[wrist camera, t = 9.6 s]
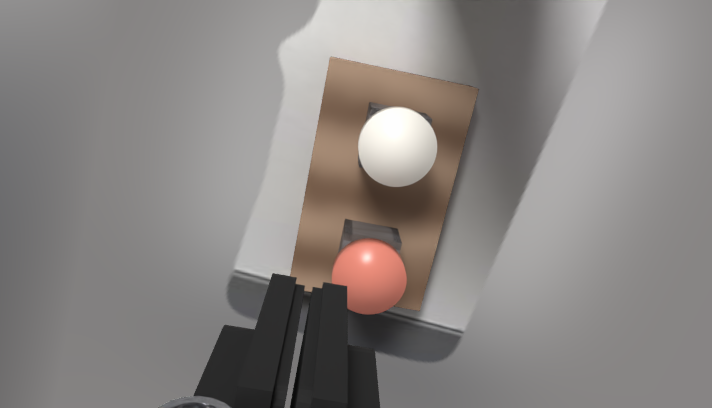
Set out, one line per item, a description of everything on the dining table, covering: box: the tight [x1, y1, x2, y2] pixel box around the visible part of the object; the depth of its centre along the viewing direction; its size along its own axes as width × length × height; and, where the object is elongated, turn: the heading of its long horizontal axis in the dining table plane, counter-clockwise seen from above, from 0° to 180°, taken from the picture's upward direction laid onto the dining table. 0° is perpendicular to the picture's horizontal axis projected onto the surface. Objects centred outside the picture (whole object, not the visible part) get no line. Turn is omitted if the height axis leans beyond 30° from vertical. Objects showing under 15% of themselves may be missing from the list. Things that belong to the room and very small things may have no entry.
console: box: [290, 57, 479, 311], centre depth 44 cm, size 20×12×6 cm, turn 168°
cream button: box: [358, 106, 437, 187], centre depth 40 cm, size 6×6×5 cm
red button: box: [332, 238, 407, 314], centre depth 42 cm, size 6×6×5 cm
